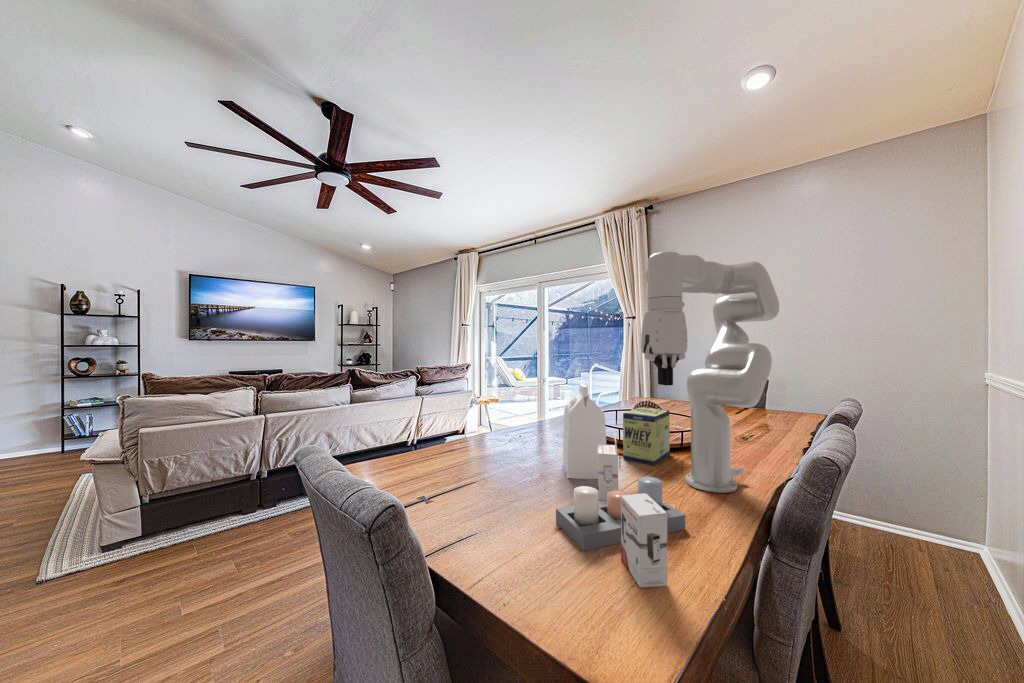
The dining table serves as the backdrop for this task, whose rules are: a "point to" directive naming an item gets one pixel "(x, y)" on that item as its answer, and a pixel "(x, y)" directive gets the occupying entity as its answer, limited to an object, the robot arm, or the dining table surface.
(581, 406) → the milk
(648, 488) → the button slate
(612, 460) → the ink cartridge box
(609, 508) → the peach cylinder
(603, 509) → the gray compartment tray
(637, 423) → the protein box
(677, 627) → the dining table surface
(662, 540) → the ink box
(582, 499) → the button cream
